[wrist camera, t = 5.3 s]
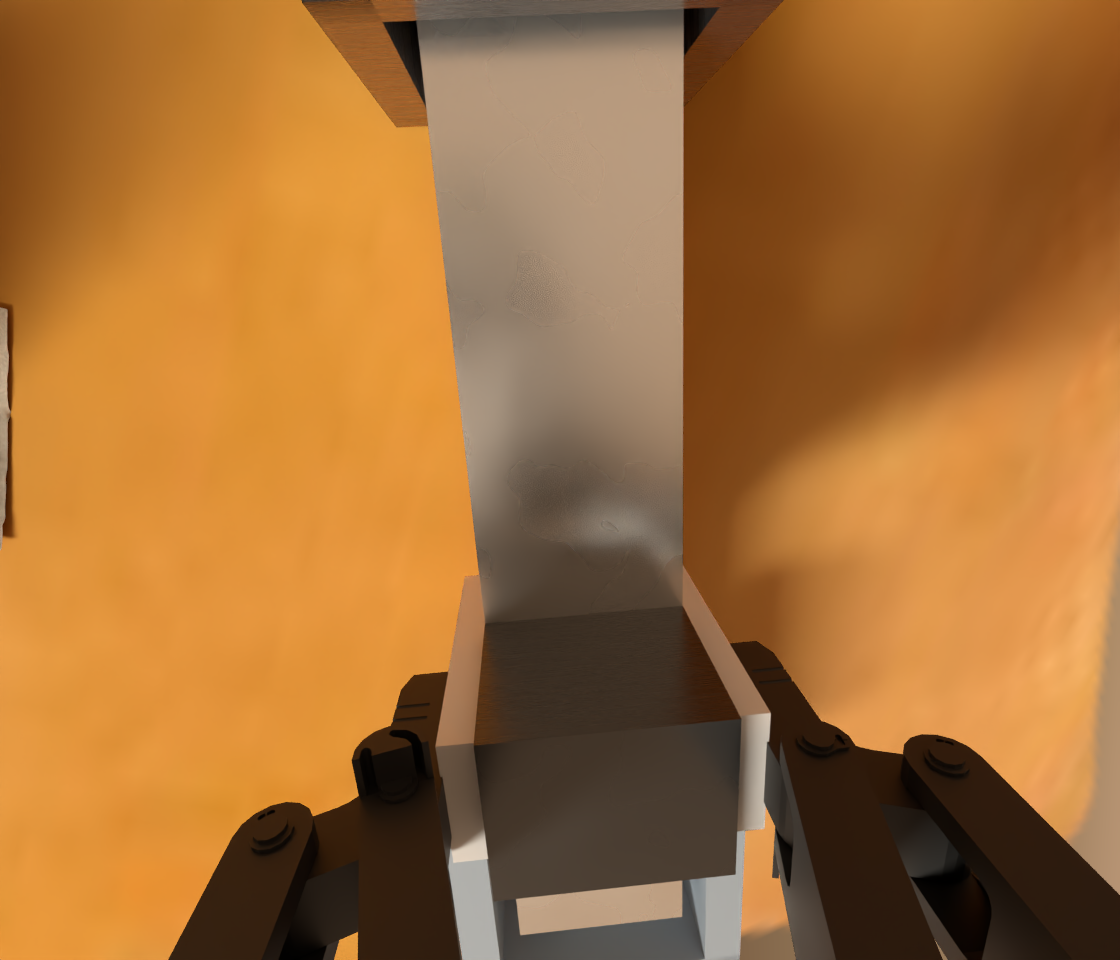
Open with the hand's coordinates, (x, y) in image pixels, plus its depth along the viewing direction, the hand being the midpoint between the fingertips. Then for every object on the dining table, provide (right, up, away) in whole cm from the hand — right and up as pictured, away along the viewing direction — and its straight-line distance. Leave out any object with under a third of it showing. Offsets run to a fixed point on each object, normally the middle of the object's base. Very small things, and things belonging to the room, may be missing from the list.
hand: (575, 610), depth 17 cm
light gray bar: (0, +3, +1) cm, 4 cm away
